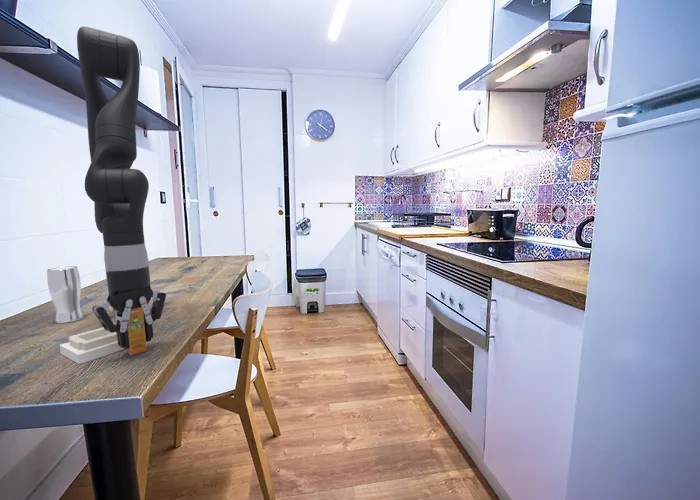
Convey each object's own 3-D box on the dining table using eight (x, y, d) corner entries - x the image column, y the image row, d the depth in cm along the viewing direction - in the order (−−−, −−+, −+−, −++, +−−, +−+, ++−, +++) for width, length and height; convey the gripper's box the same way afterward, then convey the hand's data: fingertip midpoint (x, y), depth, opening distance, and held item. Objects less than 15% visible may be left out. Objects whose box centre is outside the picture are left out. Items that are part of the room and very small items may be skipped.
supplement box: (129, 356, 69) (124, 310, 68) (127, 351, 72) (121, 306, 70) (148, 351, 71) (143, 306, 70) (144, 346, 74) (139, 303, 73)
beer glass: (91, 317, 96) (84, 266, 95) (64, 325, 90) (56, 271, 88) (75, 315, 99) (68, 265, 97) (47, 322, 92) (39, 270, 90)
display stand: (60, 353, 72) (58, 338, 71) (113, 337, 80) (111, 323, 79) (79, 364, 66) (77, 347, 66) (133, 346, 75) (131, 331, 74)
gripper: (153, 259, 77) (160, 330, 79) (78, 270, 65) (90, 353, 67) (171, 262, 73) (178, 336, 75) (95, 273, 61) (106, 361, 63)
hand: (136, 343), depth 71 cm, fingers closed on supplement box, 3 cm apart
